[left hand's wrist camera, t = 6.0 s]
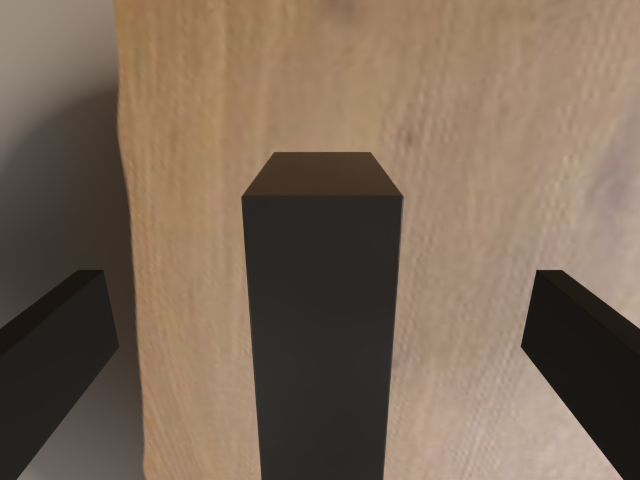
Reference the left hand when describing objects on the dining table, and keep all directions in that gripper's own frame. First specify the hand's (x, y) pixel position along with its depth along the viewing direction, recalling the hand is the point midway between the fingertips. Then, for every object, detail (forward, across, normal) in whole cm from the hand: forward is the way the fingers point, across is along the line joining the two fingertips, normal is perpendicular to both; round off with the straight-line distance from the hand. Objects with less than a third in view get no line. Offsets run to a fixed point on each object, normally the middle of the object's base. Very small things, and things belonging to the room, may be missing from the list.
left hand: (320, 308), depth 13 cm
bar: (+10, 0, -9) cm, 14 cm away
